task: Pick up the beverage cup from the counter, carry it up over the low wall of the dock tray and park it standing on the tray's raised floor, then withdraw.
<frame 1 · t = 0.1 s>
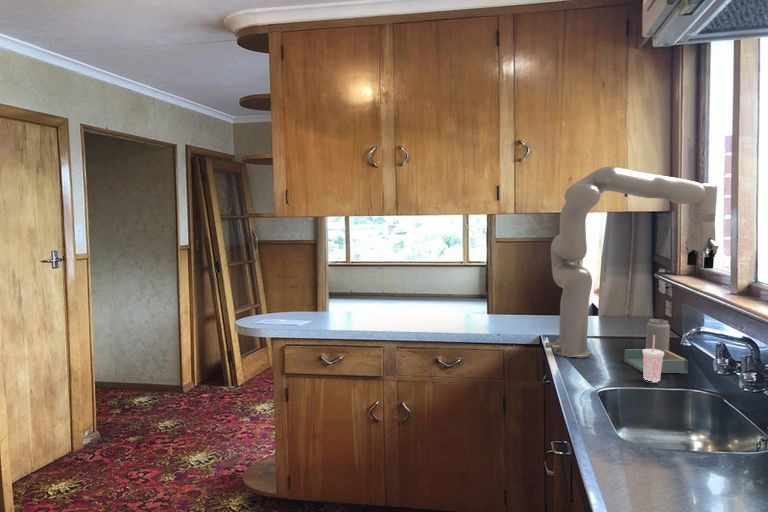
hand: (699, 266, 208), 31 cm above the countertop, tool pointing down, fingers open, 9 cm apart
beverage cup: (651, 380, 179), on the countertop
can: (656, 353, 210), on the countertop
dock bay: (654, 367, 193), on the countertop
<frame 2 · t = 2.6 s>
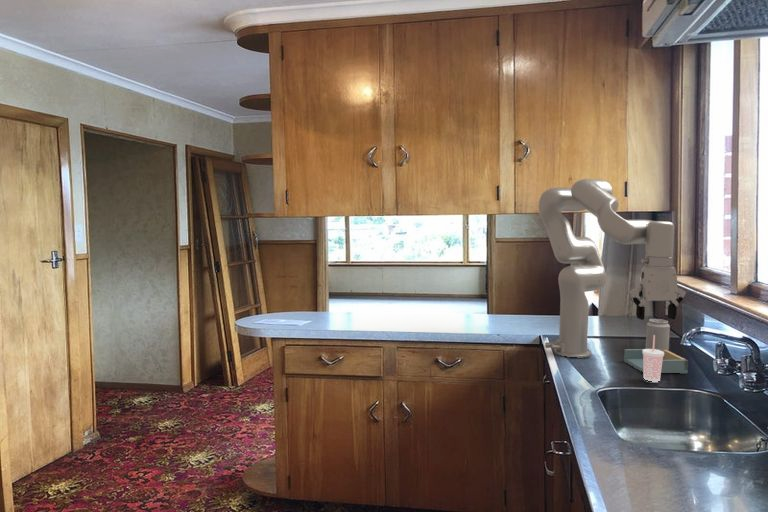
hand: (656, 318, 177), 19 cm above the countertop, tool pointing down, fingers open, 9 cm apart
nothing on the countertop moved.
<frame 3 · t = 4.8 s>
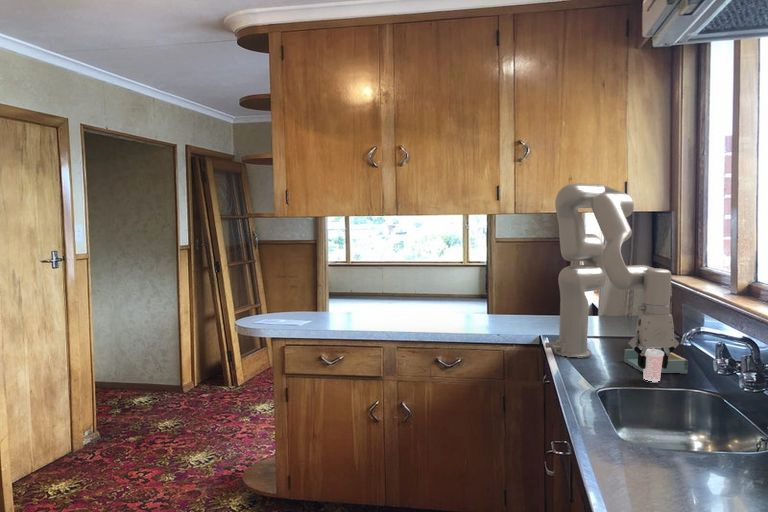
hand: (652, 366, 179), 4 cm above the countertop, tool pointing down, fingers closed on beverage cup, 6 cm apart
beverage cup: (651, 380, 179), on the countertop, touching gripper
everything else where it was.
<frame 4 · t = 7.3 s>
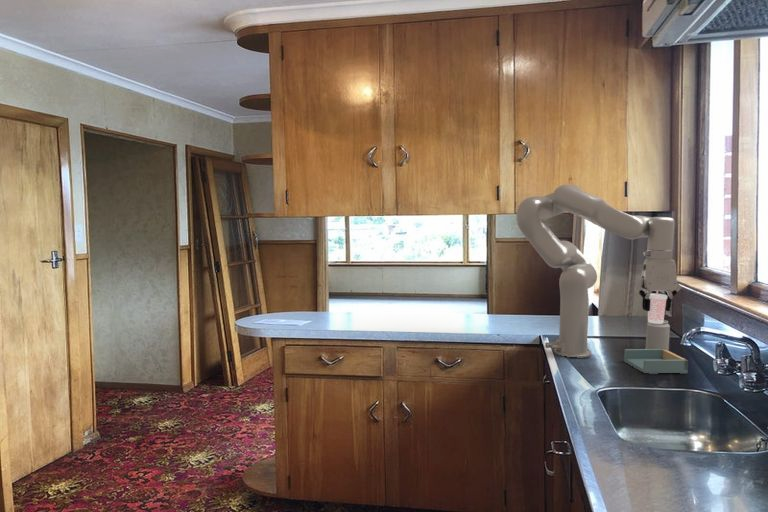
hand: (656, 309, 191), 19 cm above the countertop, tool pointing down, fingers closed on beverage cup, 6 cm apart
beverage cup: (655, 322, 191), point 15 cm above the countertop, touching gripper
everything else where it was.
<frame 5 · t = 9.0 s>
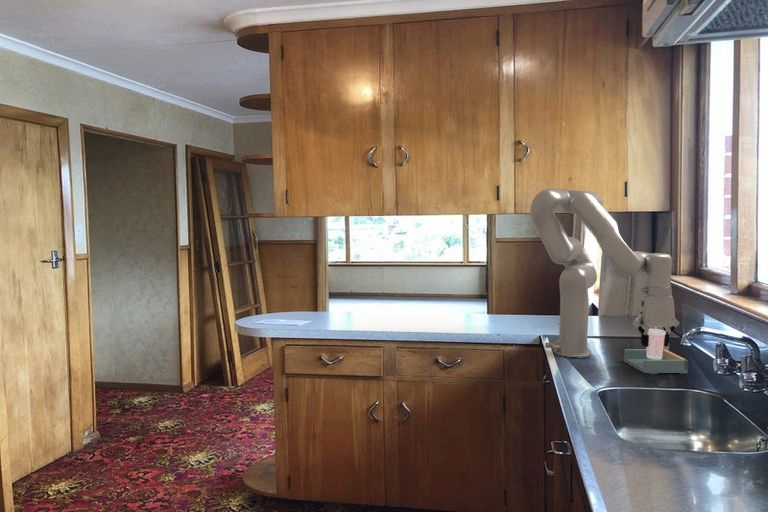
hand: (654, 345, 192), 7 cm above the countertop, tool pointing down, fingers closed on beverage cup, 6 cm apart
beverage cup: (654, 358, 192), point 3 cm above the countertop, touching gripper
everything else where it was.
when the fingers open (6 cm above the countertop, at t = 10.0 s): beverage cup drops 1 cm, resting on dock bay.
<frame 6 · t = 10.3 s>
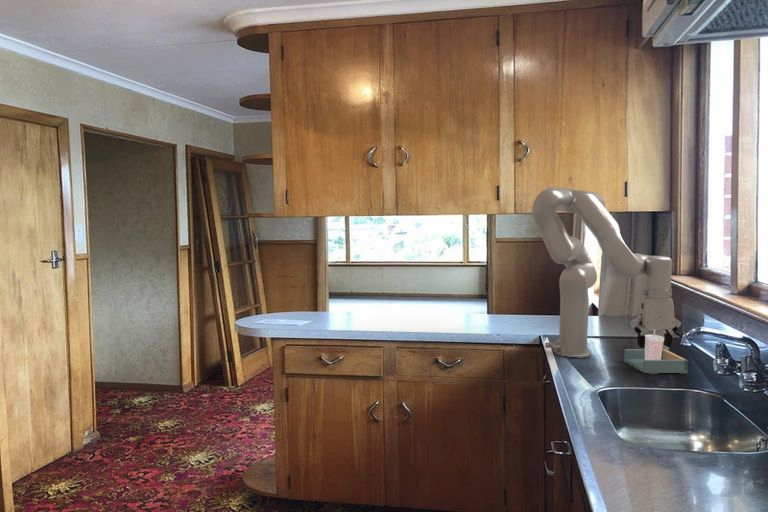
hand: (654, 346, 192), 7 cm above the countertop, tool pointing down, fingers open, 8 cm apart
beverage cup: (652, 364, 193), point 1 cm above the countertop, touching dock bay
everything else where it was.
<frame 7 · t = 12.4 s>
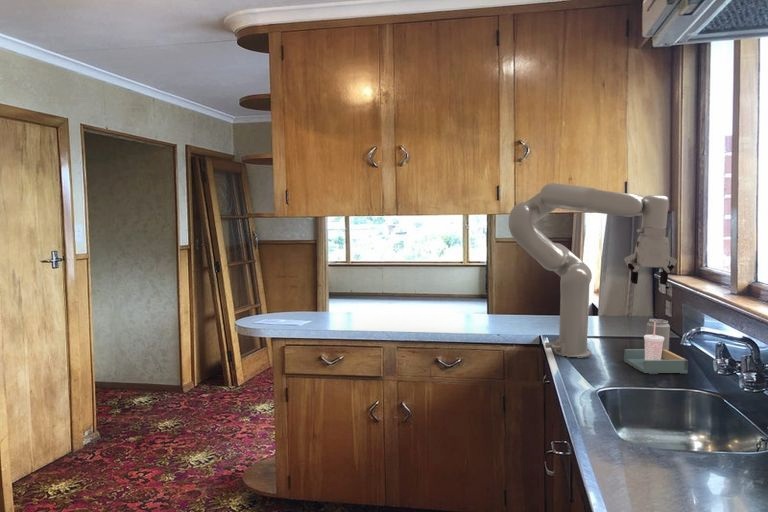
hand: (648, 283, 196), 27 cm above the countertop, tool pointing down, fingers open, 9 cm apart
nothing on the countertop moved.
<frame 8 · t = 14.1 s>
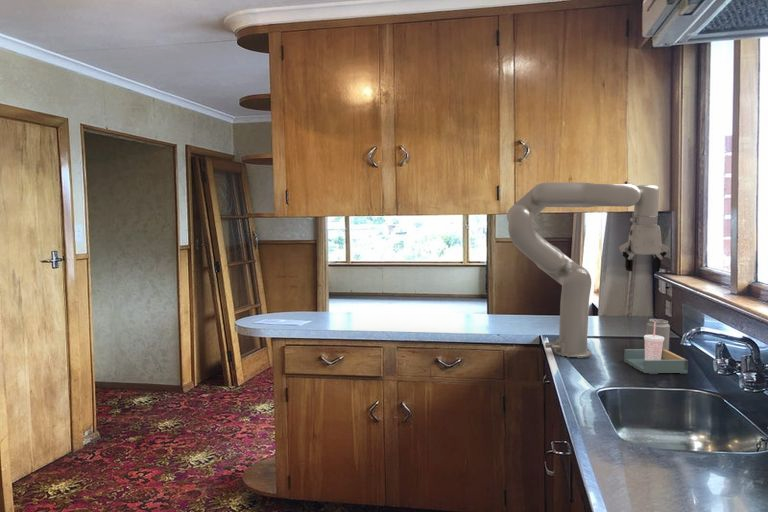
hand: (642, 270, 203), 30 cm above the countertop, tool pointing down, fingers open, 9 cm apart
nothing on the countertop moved.
at the end: beverage cup inside the target area on the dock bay (0.3 cm from its centre), point 1.0 cm above the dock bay's base; beverage cup tilted 0°; the gripper is holding nothing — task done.
